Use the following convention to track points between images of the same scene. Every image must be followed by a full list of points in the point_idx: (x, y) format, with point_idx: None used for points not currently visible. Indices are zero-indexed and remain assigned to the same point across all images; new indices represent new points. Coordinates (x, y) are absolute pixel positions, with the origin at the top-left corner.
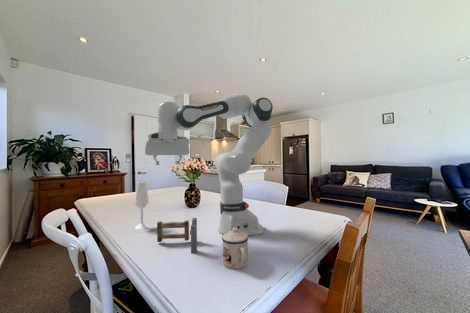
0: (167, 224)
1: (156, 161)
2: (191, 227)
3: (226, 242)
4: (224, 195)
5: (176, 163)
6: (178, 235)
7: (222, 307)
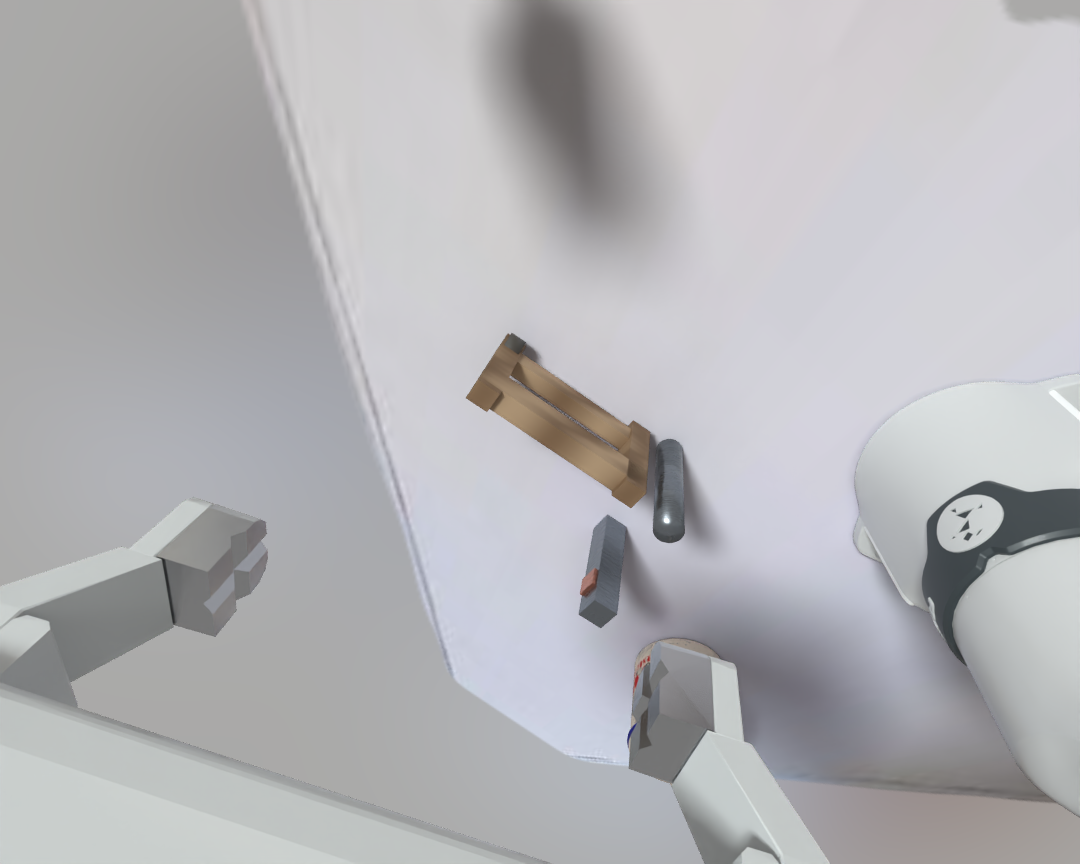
0: (524, 428)
1: (158, 614)
2: (582, 612)
3: (628, 746)
4: (984, 681)
5: (655, 661)
6: (591, 428)
7: (532, 731)
